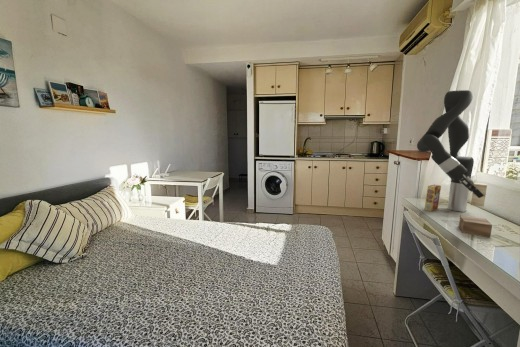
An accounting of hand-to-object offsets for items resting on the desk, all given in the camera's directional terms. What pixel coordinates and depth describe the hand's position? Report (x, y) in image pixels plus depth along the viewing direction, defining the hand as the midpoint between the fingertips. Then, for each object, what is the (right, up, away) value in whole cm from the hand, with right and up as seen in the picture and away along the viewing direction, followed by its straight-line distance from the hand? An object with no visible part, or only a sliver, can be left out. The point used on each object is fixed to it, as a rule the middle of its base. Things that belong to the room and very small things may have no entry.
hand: (481, 195), depth 117 cm
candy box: (+3, -12, +39) cm, 41 cm away
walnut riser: (-1, -18, +3) cm, 18 cm away
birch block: (-1, -5, +1) cm, 5 cm away
